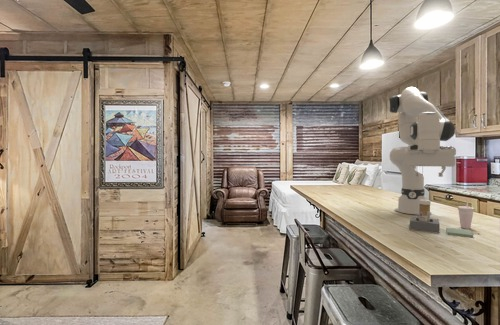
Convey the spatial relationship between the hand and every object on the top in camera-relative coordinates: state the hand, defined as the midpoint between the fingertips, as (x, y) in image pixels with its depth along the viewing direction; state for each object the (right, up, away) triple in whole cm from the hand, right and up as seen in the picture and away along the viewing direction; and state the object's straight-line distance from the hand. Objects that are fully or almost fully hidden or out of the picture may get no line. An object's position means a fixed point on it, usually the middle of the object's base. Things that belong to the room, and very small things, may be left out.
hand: (428, 176), depth 133 cm
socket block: (-1, -25, +2) cm, 25 cm away
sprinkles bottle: (-1, -25, +2) cm, 25 cm away
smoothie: (+19, -25, +3) cm, 31 cm away
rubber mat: (+9, -25, -7) cm, 27 cm away
